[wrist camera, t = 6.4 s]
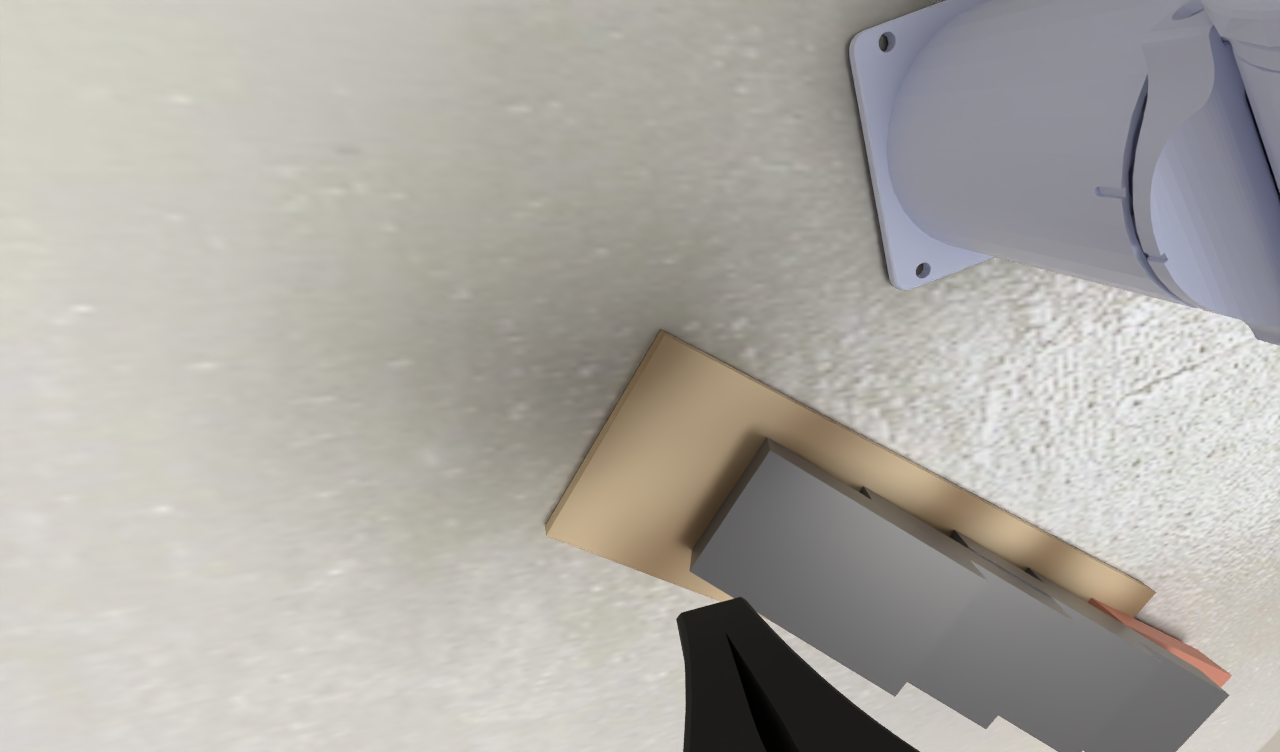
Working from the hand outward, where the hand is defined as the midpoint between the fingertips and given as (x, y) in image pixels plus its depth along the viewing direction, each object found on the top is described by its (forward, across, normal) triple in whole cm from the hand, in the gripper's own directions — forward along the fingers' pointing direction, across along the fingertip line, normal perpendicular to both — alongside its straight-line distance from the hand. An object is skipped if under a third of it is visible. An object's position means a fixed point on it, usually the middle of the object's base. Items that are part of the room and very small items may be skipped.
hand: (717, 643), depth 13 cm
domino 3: (+9, -10, +9) cm, 16 cm away
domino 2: (+9, -6, +6) cm, 12 cm away
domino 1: (+9, -3, +3) cm, 9 cm away
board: (+10, -9, +8) cm, 16 cm away
